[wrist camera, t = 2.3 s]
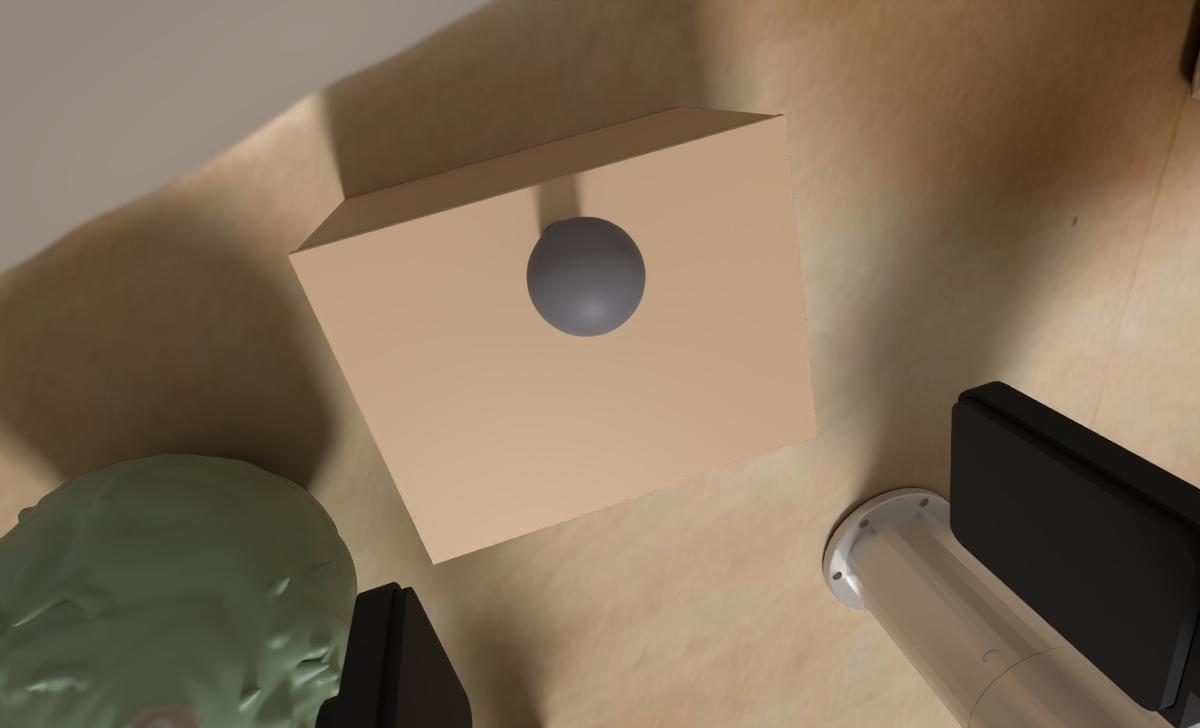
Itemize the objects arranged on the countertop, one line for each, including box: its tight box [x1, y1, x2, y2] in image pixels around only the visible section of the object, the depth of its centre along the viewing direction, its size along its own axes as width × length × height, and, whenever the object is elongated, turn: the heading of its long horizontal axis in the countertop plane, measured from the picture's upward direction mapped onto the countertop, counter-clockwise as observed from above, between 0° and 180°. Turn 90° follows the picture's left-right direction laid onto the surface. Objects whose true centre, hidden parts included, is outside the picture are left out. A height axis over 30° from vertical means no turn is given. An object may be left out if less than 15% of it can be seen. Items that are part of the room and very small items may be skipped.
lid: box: [288, 114, 817, 565], centre depth 25 cm, size 20×16×8 cm
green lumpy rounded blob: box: [0, 453, 357, 728], centre depth 32 cm, size 16×19×20 cm
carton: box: [298, 107, 773, 250], centre depth 34 cm, size 20×16×12 cm
